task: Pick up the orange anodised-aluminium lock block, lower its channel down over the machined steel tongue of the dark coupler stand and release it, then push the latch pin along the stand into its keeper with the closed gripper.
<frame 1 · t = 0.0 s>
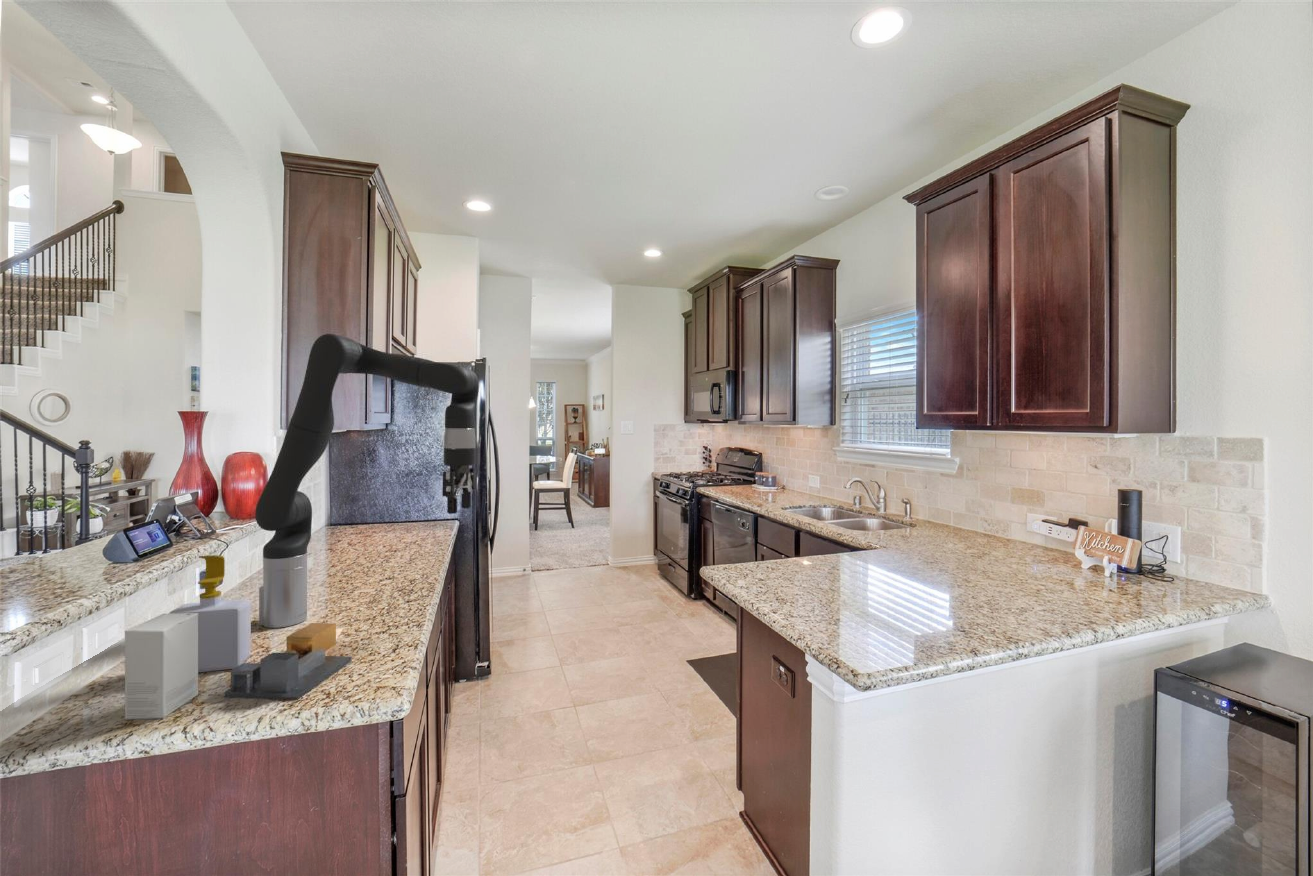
hand: (459, 510, 133), 29 cm above the counter, fingers open, 8 cm apart
skincare box: (164, 708, 94), on the counter
coupler stand: (292, 677, 105), on the counter
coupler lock: (312, 652, 117), on the counter
soap bottle: (210, 667, 110), on the counter
latch pin: (281, 660, 108), point 2 cm above the counter, slide at 0.0 cm
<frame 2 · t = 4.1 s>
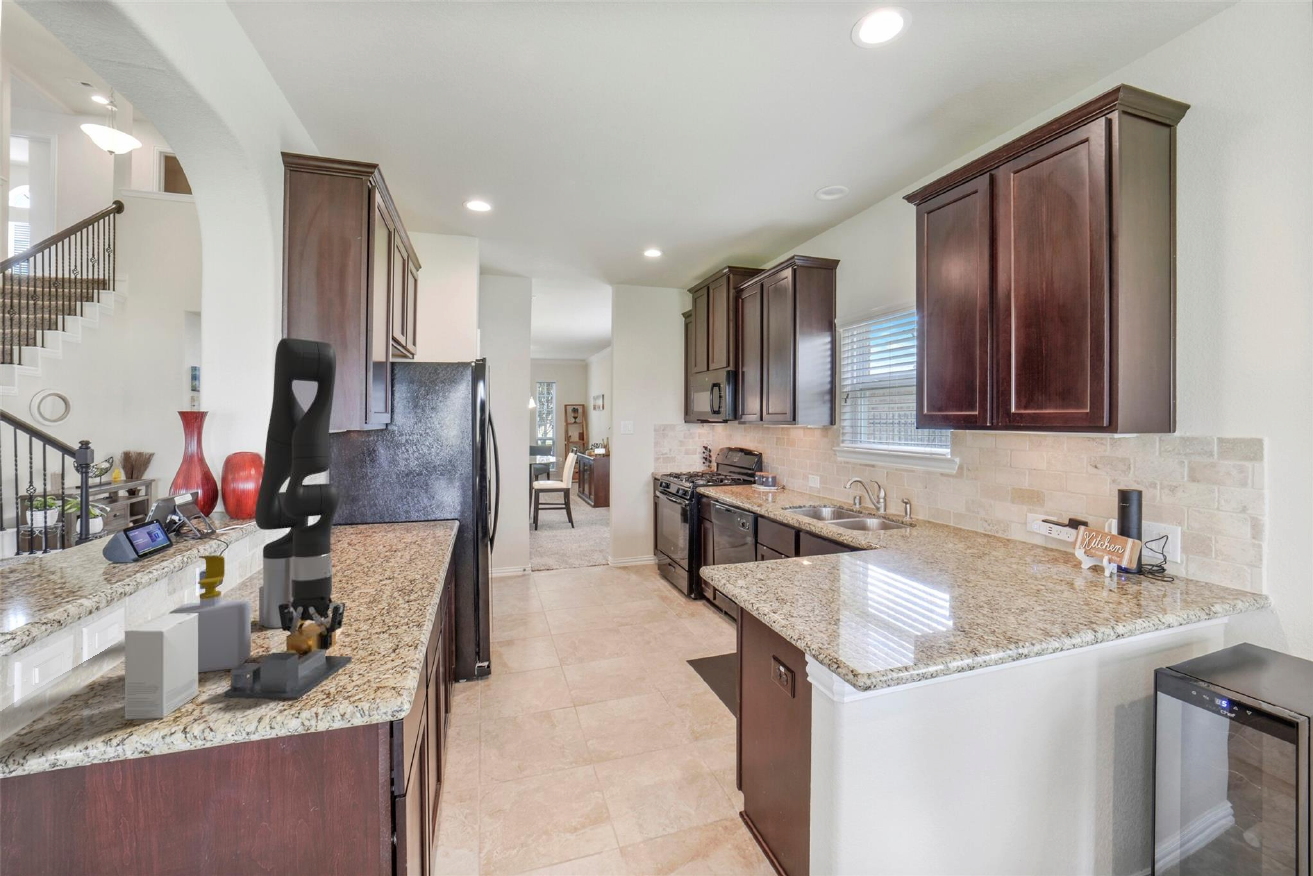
hand: (312, 649, 117), 1 cm above the counter, fingers closed on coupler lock, 5 cm apart
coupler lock: (311, 651, 117), on the counter, touching gripper
everything else where it was.
when the fingers open (2 cm above the counter, at t = 8.6 s): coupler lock stays where it is, resting on coupler stand.
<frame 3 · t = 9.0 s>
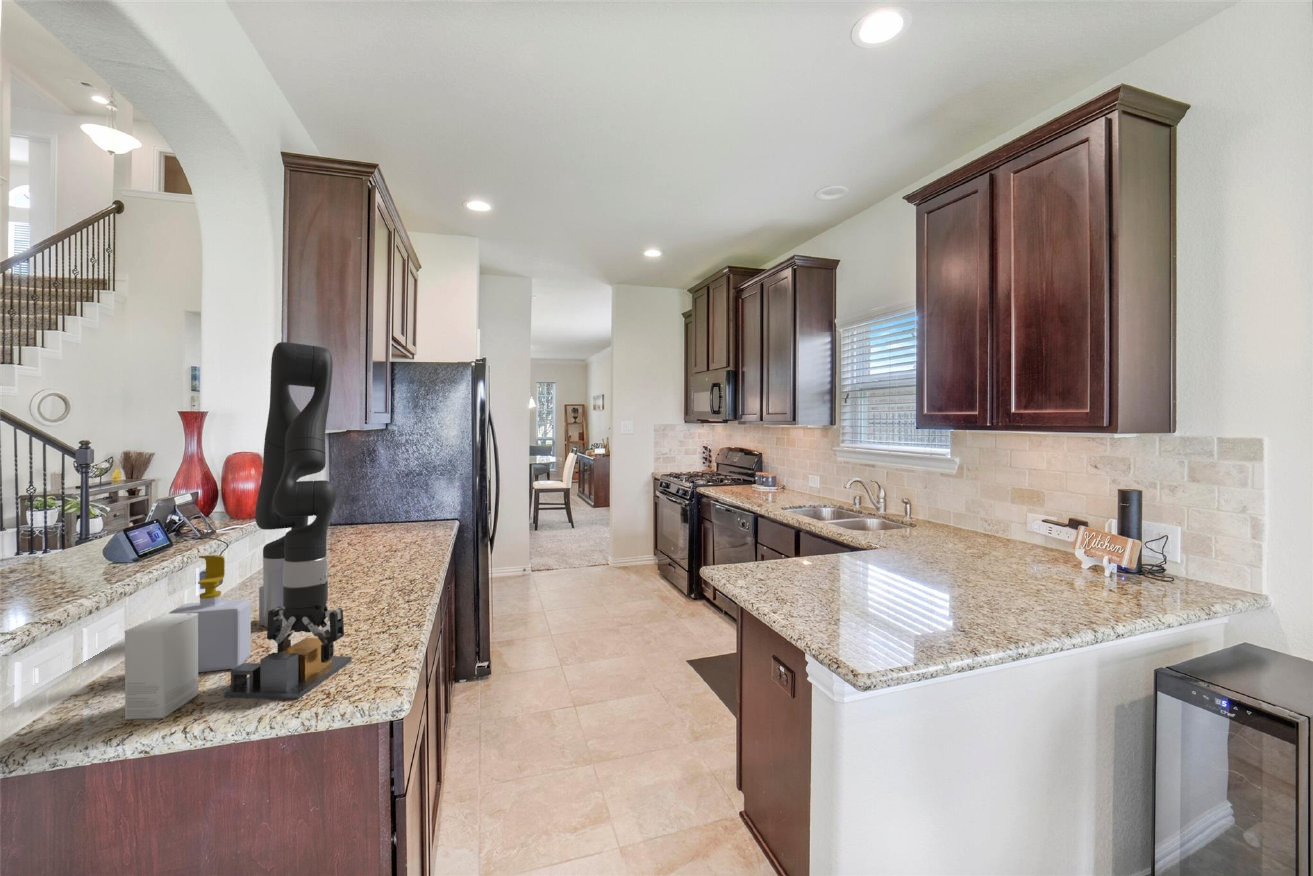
hand: (305, 660, 106), 3 cm above the counter, fingers open, 8 cm apart
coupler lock: (305, 670, 106), point 1 cm above the counter, touching coupler stand
everything else where it was.
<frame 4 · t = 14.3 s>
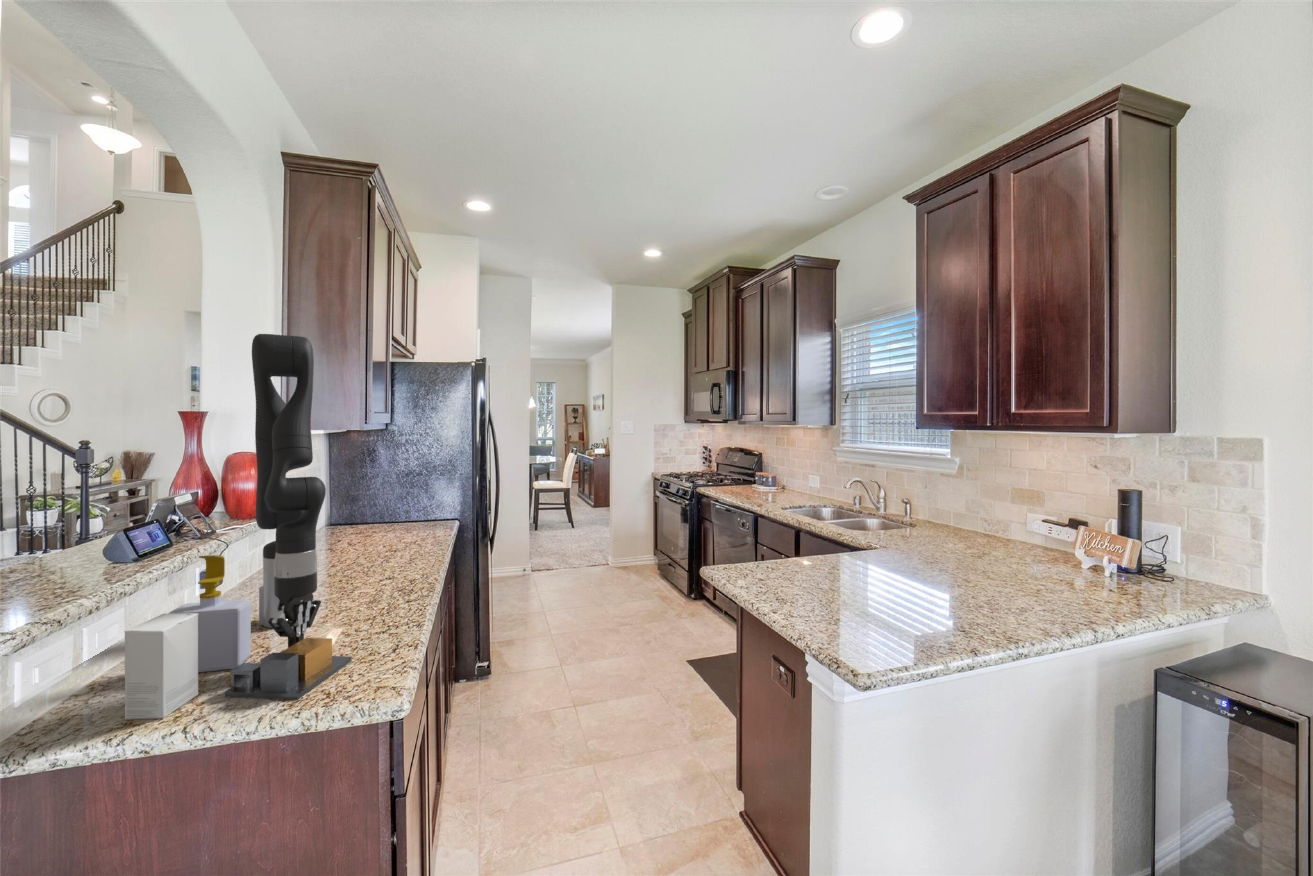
hand: (296, 652, 112), 2 cm above the counter, fingers closed
latch pin: (279, 661, 108), point 2 cm above the counter, slide at 0.7 cm, touching gripper
everything else where it was.
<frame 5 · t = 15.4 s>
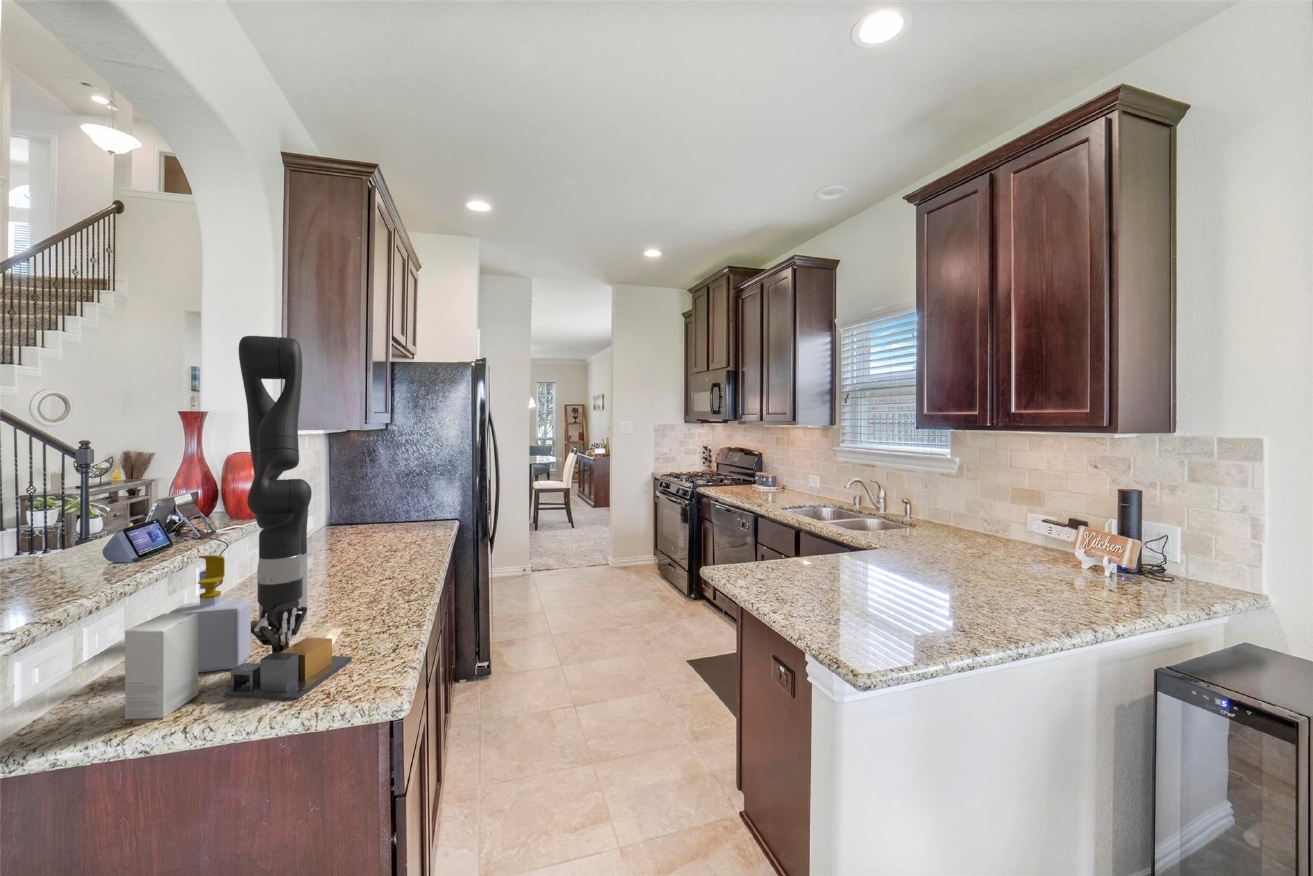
hand: (280, 661, 108), 2 cm above the counter, fingers closed
latch pin: (263, 671, 103), point 2 cm above the counter, slide at 4.9 cm, touching gripper
everything else where it was.
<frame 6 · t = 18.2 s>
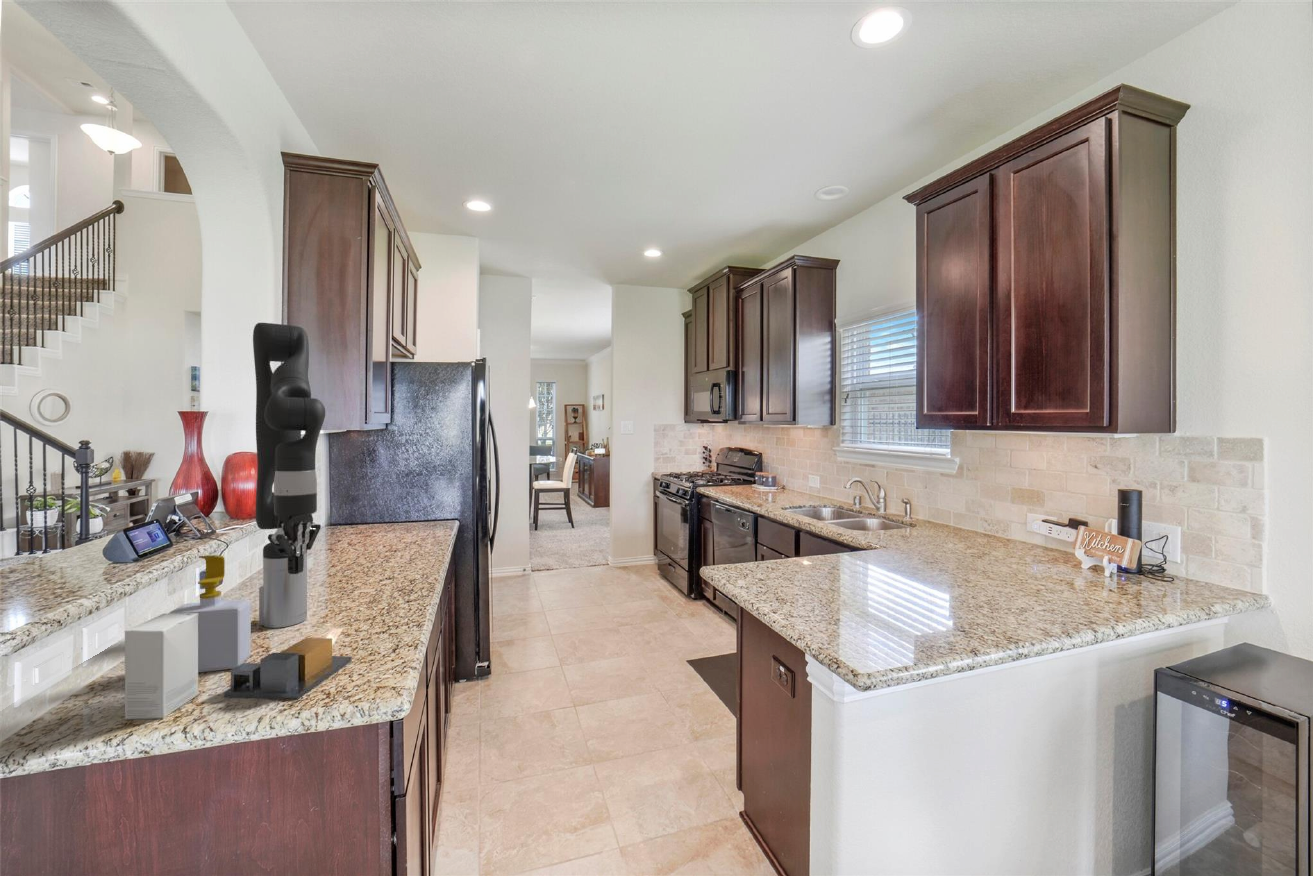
hand: (295, 573, 112), 19 cm above the counter, fingers closed
latch pin: (263, 671, 103), point 2 cm above the counter, slide at 4.9 cm
everything else where it was.
at the end: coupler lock 0.1 cm from the target spot on the coupler stand, point 1.0 cm above the coupler stand's base; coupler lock tilted 0°; latch pin slide at 4.9 cm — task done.
